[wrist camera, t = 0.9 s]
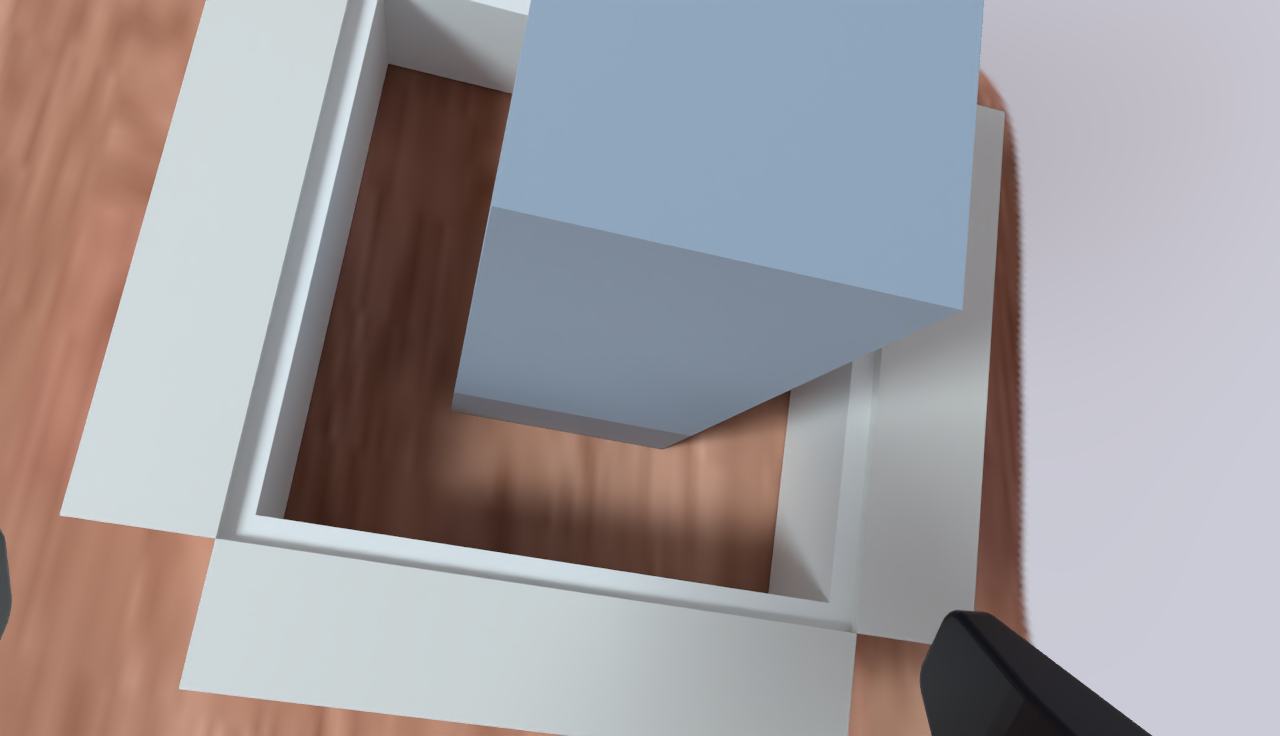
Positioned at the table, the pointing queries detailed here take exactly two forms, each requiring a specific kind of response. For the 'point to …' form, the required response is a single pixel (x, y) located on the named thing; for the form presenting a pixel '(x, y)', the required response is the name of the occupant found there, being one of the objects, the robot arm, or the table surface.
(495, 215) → the box
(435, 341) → the table surface
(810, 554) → the carton
